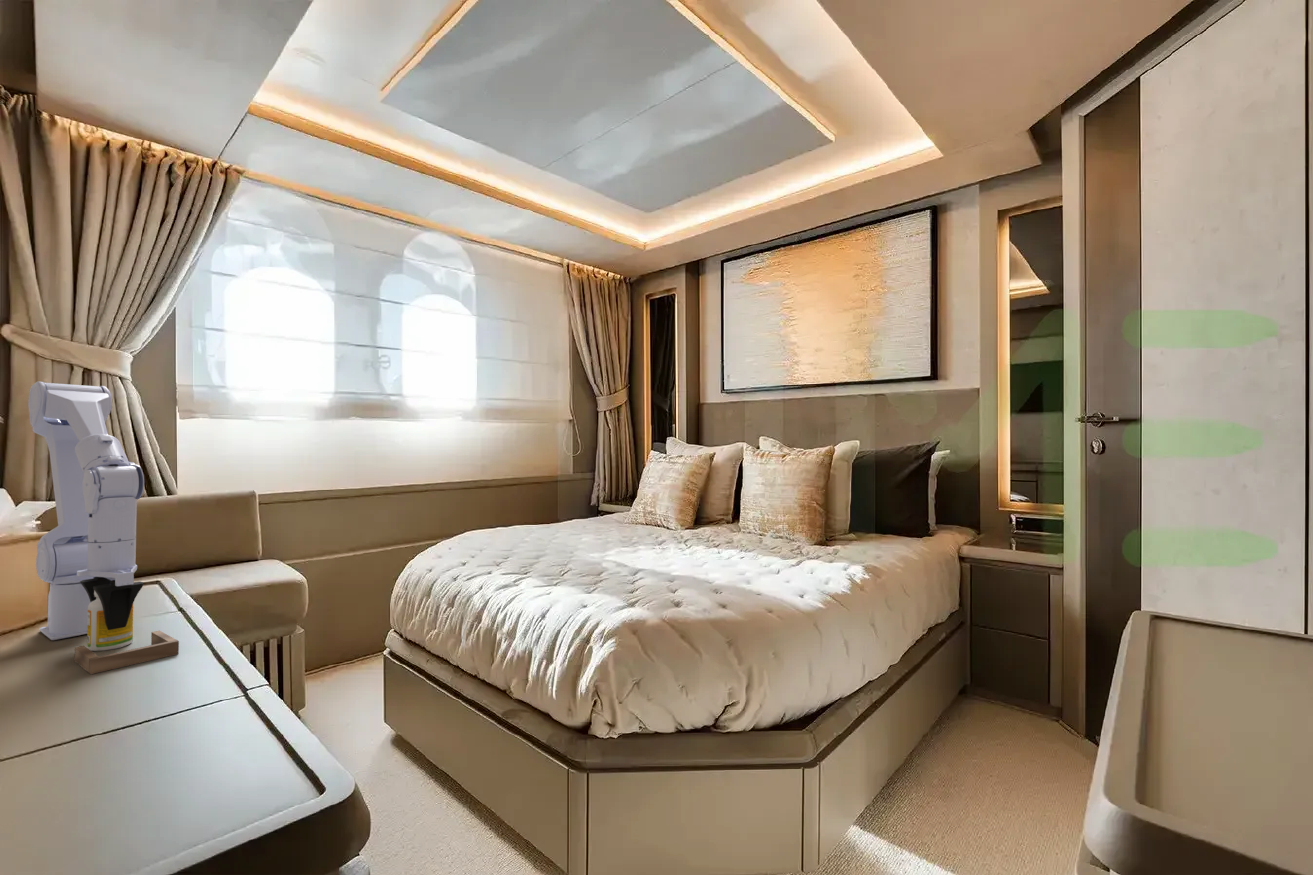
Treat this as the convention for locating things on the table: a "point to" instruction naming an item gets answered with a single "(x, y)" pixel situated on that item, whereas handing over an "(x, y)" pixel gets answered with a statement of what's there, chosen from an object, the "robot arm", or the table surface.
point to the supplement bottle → (100, 635)
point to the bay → (127, 654)
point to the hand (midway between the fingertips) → (110, 624)
